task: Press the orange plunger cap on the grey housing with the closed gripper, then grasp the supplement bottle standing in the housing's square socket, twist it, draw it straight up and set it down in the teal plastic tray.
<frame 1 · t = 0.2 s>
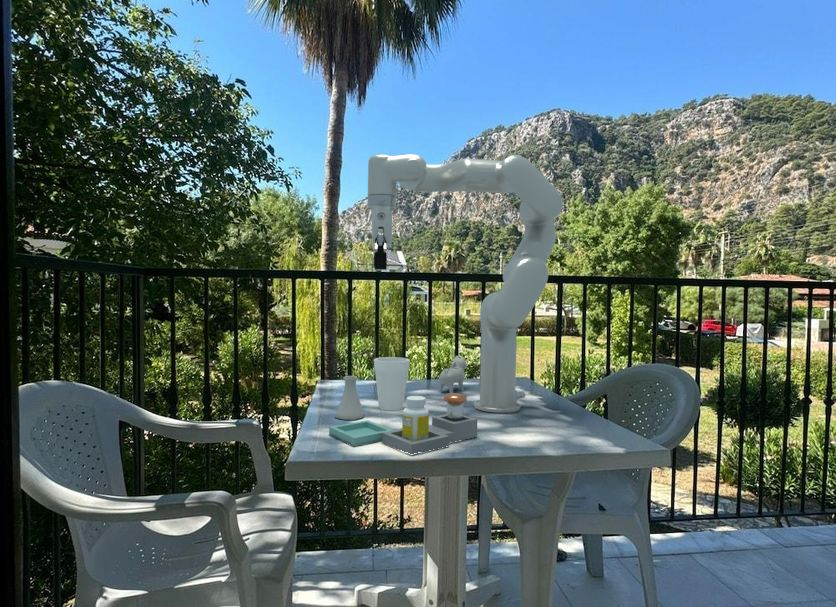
hand: (380, 268, 138), 37 cm above the table, tool pointing down, fingers open, 9 cm apart
tray: (361, 436, 112), on the table
dog figurine: (452, 391, 165), on the table
housing: (433, 440, 111), on the table
plunger: (454, 411, 114), point 6 cm above the table, slide at 0.0 cm
foam cup: (390, 408, 139), on the table
flask: (349, 417, 129), on the table
supplement bottle: (415, 446, 107), resting in housing
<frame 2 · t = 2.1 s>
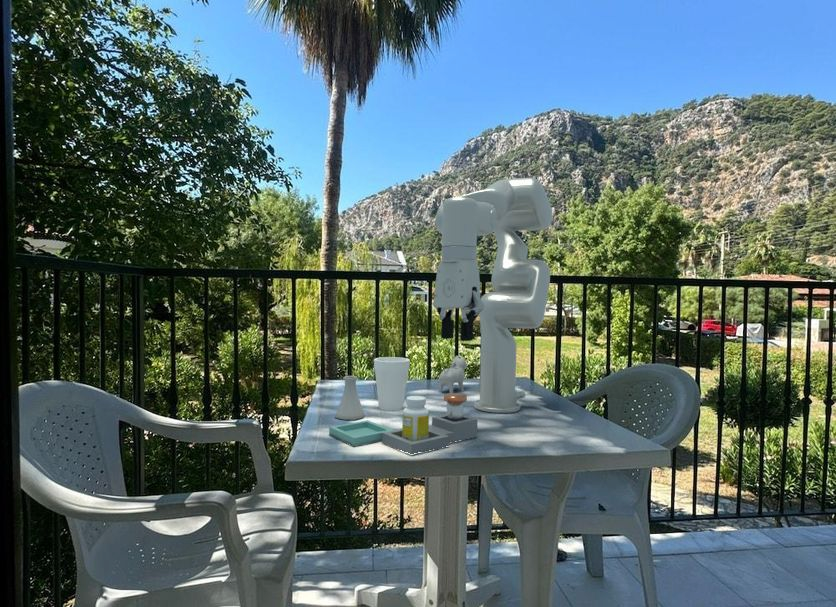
hand: (456, 338, 114), 21 cm above the table, tool pointing down, fingers open, 5 cm apart
nothing on the table moved.
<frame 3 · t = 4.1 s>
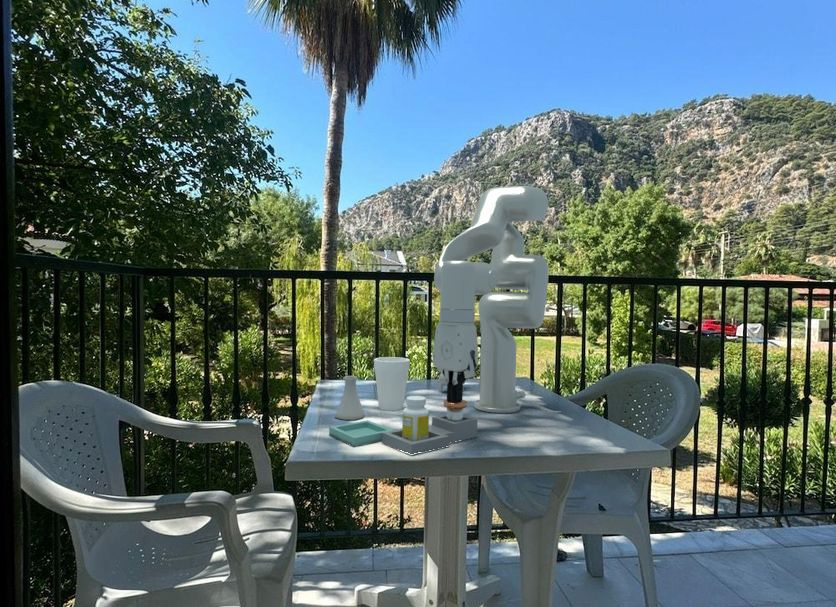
hand: (454, 401, 114), 8 cm above the table, tool pointing down, fingers closed
plunger: (454, 417, 114), point 4 cm above the table, slide at -1.3 cm
everything else where it was.
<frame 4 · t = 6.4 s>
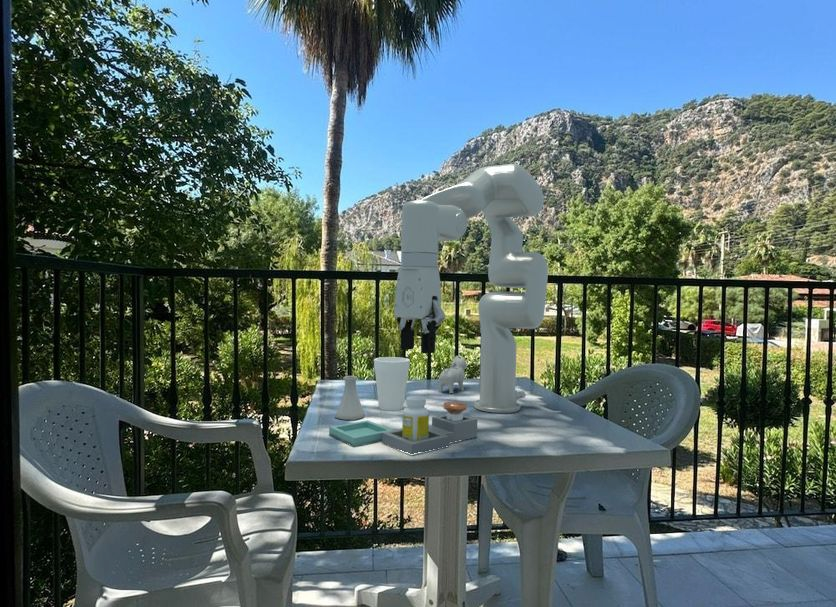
hand: (417, 350, 107), 20 cm above the table, tool pointing down, fingers open, 6 cm apart
plunger: (454, 419, 114), point 4 cm above the table, slide at -1.9 cm
everything else where it was.
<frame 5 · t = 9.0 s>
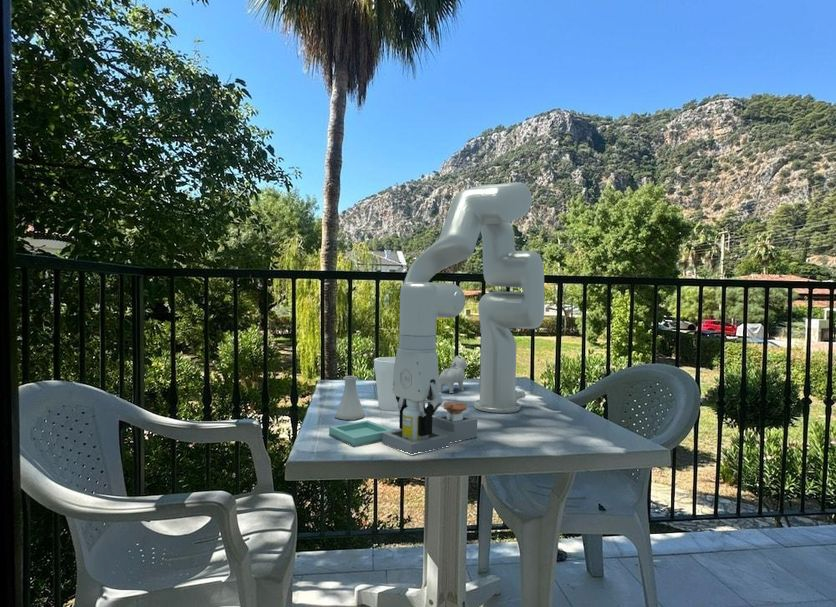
hand: (415, 430, 107), 3 cm above the table, tool pointing down, fingers closed on supplement bottle, 5 cm apart
supplement bottle: (415, 445, 107), resting in housing, touching gripper
everything else where it was.
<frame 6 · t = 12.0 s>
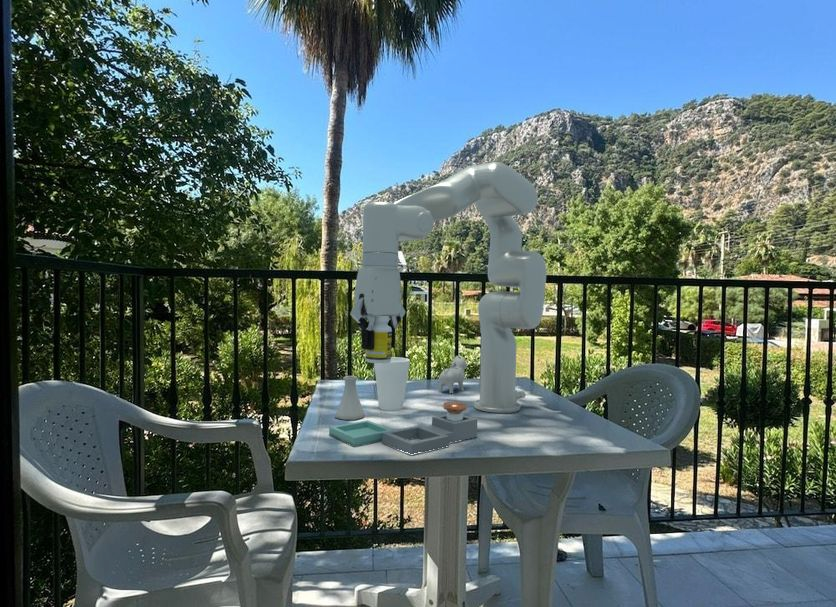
hand: (378, 347, 110), 20 cm above the table, tool pointing down, fingers closed on supplement bottle, 5 cm apart
supplement bottle: (378, 362, 110), point 16 cm above the table, touching gripper
everything else where it was.
when the fingers open (5 cm above the table, at t = 15.4 s): supplement bottle drops 1 cm, resting on tray.
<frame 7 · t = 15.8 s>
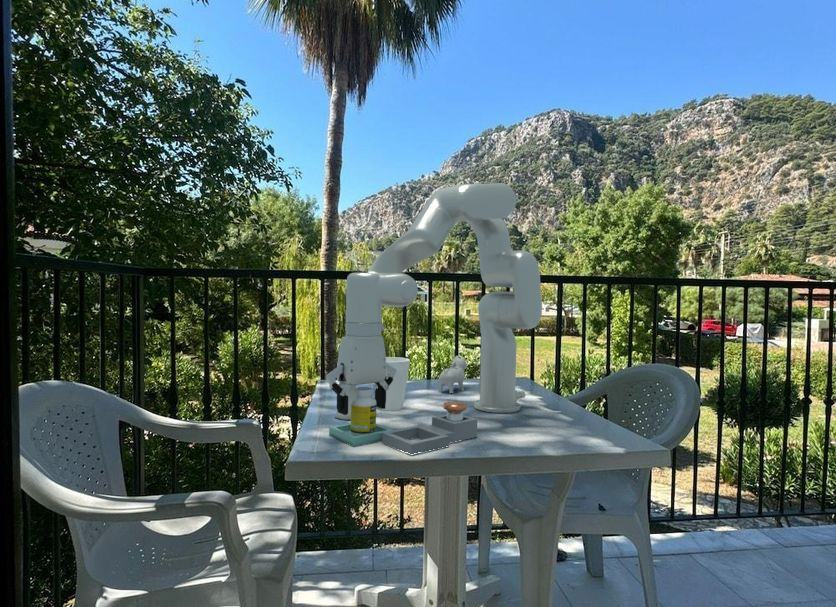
hand: (361, 410, 112), 6 cm above the table, tool pointing down, fingers open, 9 cm apart
supplement bottle: (363, 434, 112), resting on tray
everything else where it was.
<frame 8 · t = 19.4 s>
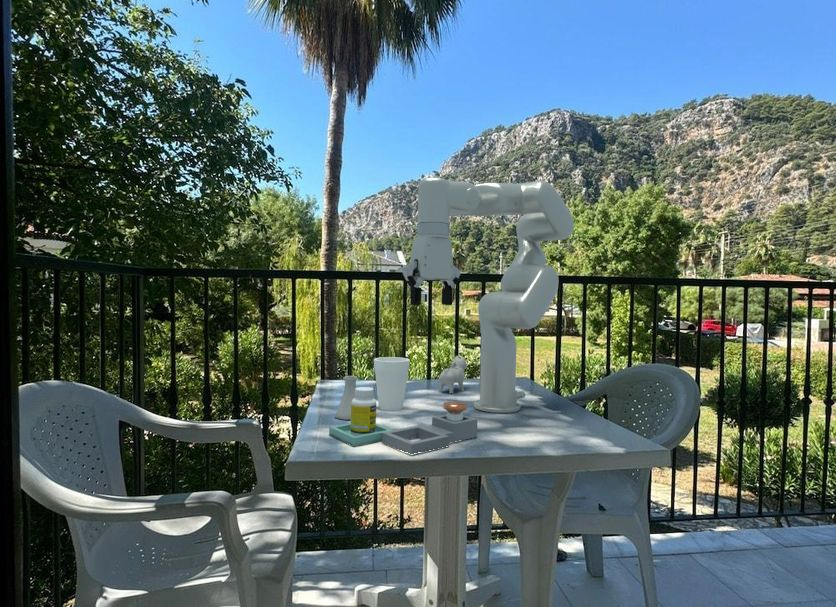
hand: (431, 304, 123), 28 cm above the table, tool pointing down, fingers open, 9 cm apart
nothing on the table moved.
at the end: supplement bottle inside the target area on the tray (0.4 cm from its centre), point 0.4 cm above the tray's base; supplement bottle tilted 0°; plunger slide at -1.9 cm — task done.
